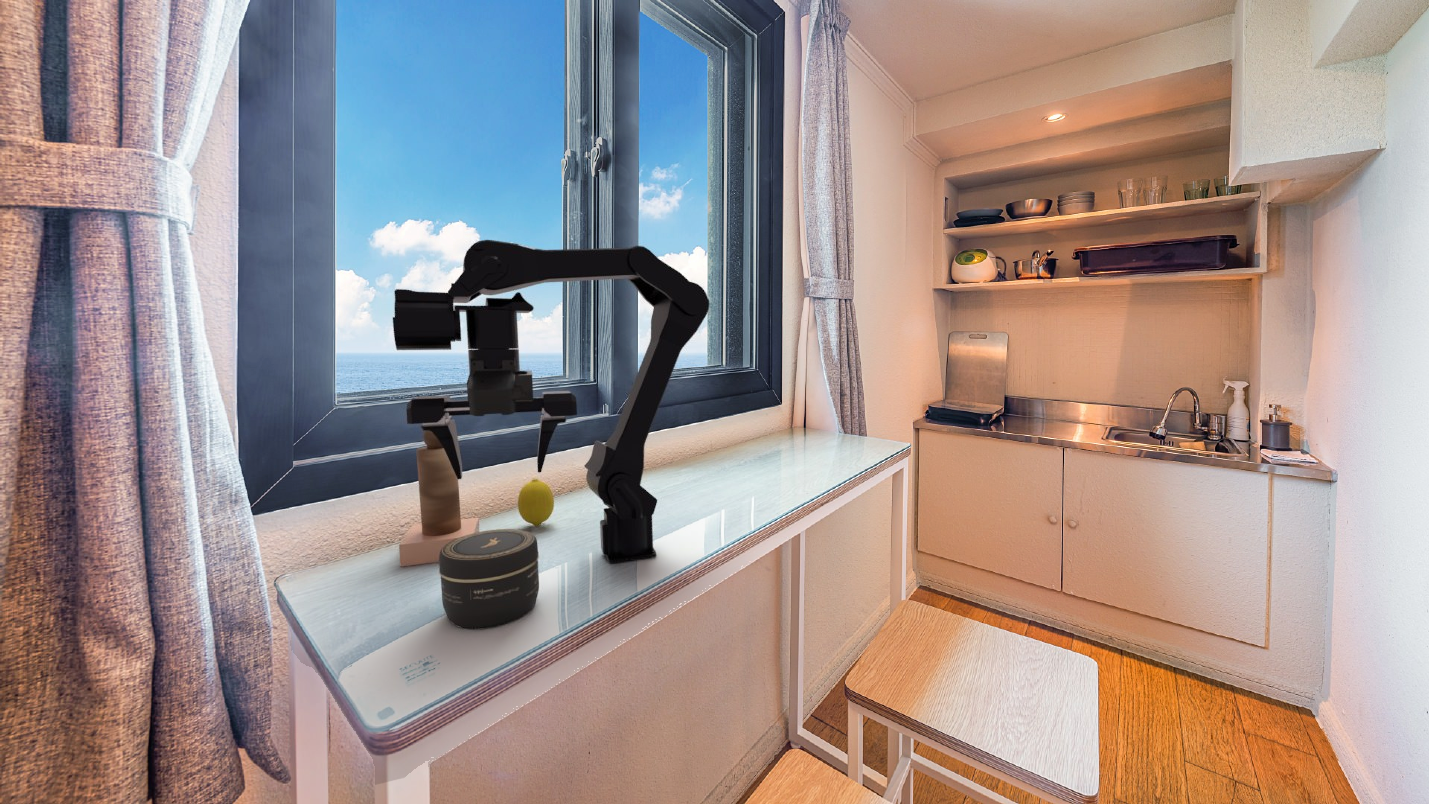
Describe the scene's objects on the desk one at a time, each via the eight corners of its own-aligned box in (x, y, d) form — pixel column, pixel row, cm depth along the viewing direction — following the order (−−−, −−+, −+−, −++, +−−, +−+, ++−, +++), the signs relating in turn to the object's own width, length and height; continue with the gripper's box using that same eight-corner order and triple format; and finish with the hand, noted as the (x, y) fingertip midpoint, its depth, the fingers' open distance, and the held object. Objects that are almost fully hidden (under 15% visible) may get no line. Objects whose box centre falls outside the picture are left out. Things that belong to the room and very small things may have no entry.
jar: (539, 584, 65) (536, 523, 64) (543, 622, 55) (539, 551, 55) (448, 598, 61) (444, 534, 61) (436, 641, 52) (431, 566, 51)
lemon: (560, 521, 89) (558, 474, 88) (546, 532, 83) (544, 482, 82) (528, 521, 89) (526, 474, 89) (512, 532, 84) (510, 482, 83)
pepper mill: (466, 523, 79) (460, 422, 77) (453, 535, 74) (446, 427, 72) (431, 525, 78) (424, 423, 77) (415, 536, 73) (408, 428, 72)
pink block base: (479, 536, 82) (478, 517, 82) (474, 557, 74) (472, 536, 73) (414, 544, 79) (412, 524, 79) (400, 566, 71) (398, 544, 70)
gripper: (389, 349, 54) (400, 499, 55) (578, 347, 60) (583, 482, 61) (412, 350, 64) (421, 476, 66) (570, 348, 70) (575, 464, 72)
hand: (500, 475), depth 66 cm, fingers open, 9 cm apart
